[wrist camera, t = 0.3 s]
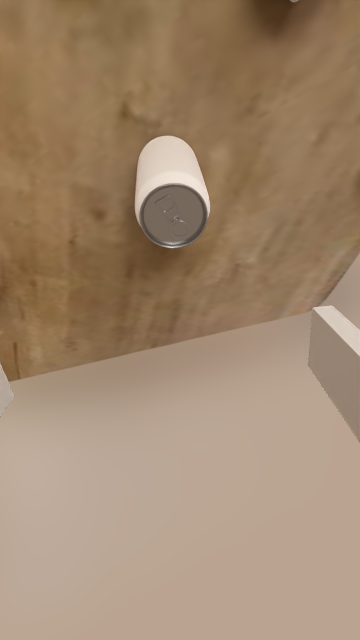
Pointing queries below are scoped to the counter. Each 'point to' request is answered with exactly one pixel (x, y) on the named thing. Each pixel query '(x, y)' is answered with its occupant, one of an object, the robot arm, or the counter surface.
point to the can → (170, 193)
